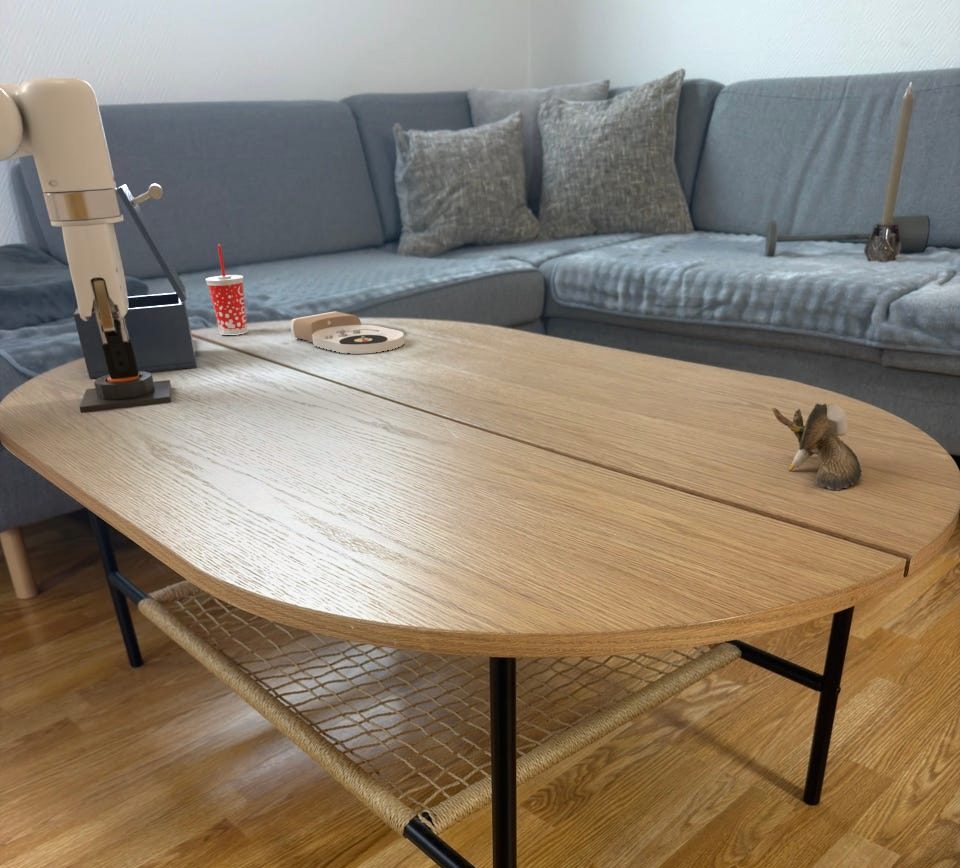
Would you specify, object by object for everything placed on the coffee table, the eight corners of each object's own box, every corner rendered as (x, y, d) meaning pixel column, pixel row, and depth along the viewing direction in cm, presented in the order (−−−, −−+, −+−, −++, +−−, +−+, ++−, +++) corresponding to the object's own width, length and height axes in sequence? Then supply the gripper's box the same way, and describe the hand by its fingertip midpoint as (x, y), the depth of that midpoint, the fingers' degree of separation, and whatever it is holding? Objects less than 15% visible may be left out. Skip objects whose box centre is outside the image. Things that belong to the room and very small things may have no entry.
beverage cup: (237, 337, 144) (222, 247, 138) (207, 336, 146) (191, 247, 140) (259, 330, 149) (245, 242, 143) (230, 329, 151) (215, 242, 145)
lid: (115, 189, 113) (151, 172, 113) (120, 186, 124) (153, 170, 124) (181, 302, 121) (214, 285, 122) (180, 290, 132) (210, 275, 132)
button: (109, 396, 103) (106, 381, 102) (111, 389, 106) (108, 374, 105) (141, 392, 104) (138, 378, 103) (142, 385, 107) (139, 371, 106)
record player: (344, 309, 145) (418, 324, 132) (346, 328, 147) (419, 345, 133) (283, 320, 139) (354, 337, 125) (286, 340, 140) (356, 359, 127)
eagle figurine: (746, 446, 81) (779, 460, 72) (792, 378, 79) (831, 384, 70) (811, 487, 82) (852, 505, 73) (858, 421, 80) (905, 432, 72)
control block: (84, 425, 101) (75, 391, 99) (90, 406, 109) (82, 374, 107) (173, 414, 103) (166, 381, 101) (173, 397, 111) (166, 365, 109)
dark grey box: (89, 379, 122) (73, 314, 118) (96, 360, 133) (81, 300, 128) (196, 367, 126) (184, 304, 121) (194, 350, 136) (183, 292, 132)
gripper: (55, 207, 101) (96, 366, 109) (39, 215, 88) (86, 394, 97) (123, 203, 103) (158, 360, 111) (117, 210, 90) (156, 386, 99)
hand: (124, 375), depth 104 cm, fingers closed
